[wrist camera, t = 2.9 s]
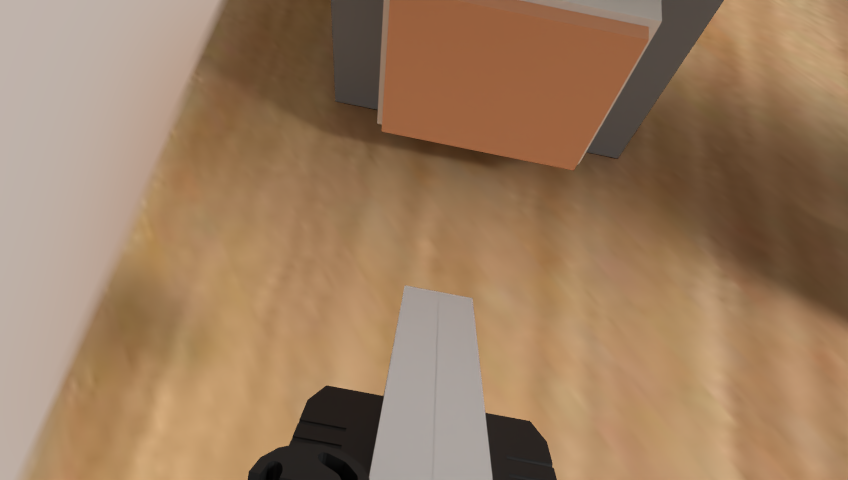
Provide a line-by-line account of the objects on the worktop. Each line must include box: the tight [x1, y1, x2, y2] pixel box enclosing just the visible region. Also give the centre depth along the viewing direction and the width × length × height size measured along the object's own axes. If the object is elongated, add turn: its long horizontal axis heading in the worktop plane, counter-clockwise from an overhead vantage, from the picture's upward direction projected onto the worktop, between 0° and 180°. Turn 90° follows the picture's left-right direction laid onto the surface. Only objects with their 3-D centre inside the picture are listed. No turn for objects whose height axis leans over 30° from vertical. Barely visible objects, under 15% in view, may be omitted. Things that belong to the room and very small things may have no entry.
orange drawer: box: [377, 0, 662, 170], centre depth 24 cm, size 8×9×8 cm
